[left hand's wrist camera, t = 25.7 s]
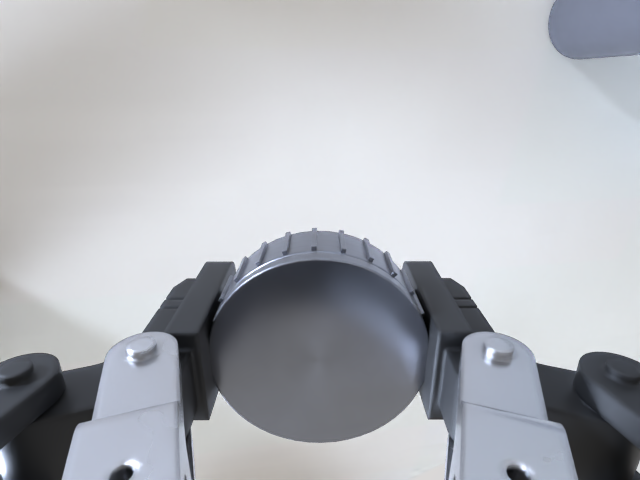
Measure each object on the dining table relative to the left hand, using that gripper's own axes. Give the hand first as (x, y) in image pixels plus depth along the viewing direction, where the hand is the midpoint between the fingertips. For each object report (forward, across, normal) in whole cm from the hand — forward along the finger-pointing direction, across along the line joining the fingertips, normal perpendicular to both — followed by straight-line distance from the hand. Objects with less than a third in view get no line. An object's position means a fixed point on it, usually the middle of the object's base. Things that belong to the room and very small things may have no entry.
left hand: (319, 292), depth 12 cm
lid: (-3, 0, 0) cm, 3 cm away
